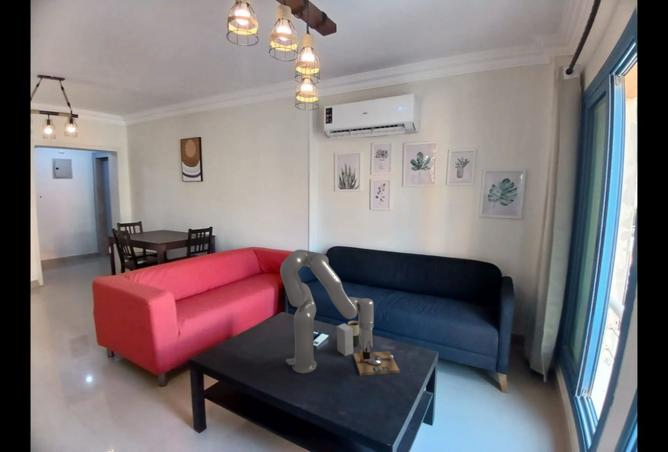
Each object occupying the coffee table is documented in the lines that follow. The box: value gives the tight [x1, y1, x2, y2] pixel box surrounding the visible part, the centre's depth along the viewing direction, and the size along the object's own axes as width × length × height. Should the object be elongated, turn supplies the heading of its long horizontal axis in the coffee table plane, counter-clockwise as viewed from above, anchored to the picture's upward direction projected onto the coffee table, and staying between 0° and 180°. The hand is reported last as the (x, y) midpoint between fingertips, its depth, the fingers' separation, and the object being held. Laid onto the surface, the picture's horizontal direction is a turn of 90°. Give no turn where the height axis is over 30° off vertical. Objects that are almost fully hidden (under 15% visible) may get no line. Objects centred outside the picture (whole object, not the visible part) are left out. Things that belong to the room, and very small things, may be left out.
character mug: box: [347, 320, 360, 347], centre depth 184 cm, size 11×7×13 cm, turn 75°
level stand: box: [352, 350, 400, 377], centre depth 164 cm, size 20×18×2 cm
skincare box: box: [336, 323, 354, 357], centre depth 176 cm, size 8×6×15 cm
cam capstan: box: [359, 349, 394, 365], centre depth 164 cm, size 18×8×6 cm, turn 97°
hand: (366, 358), depth 158 cm, fingers closed
